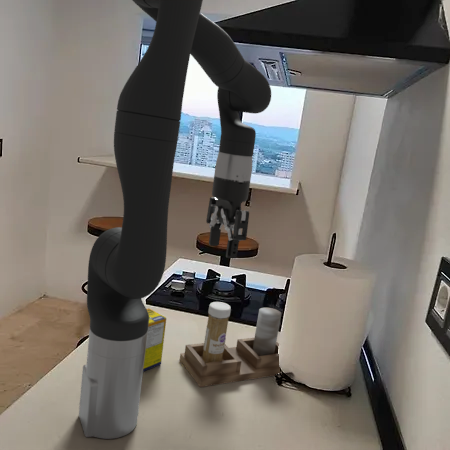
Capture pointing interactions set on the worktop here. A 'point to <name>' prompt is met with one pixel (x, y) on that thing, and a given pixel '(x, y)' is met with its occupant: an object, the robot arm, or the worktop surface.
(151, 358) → the supplement box
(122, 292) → the robot arm
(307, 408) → the worktop surface
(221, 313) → the sprinkles bottle
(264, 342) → the rack
